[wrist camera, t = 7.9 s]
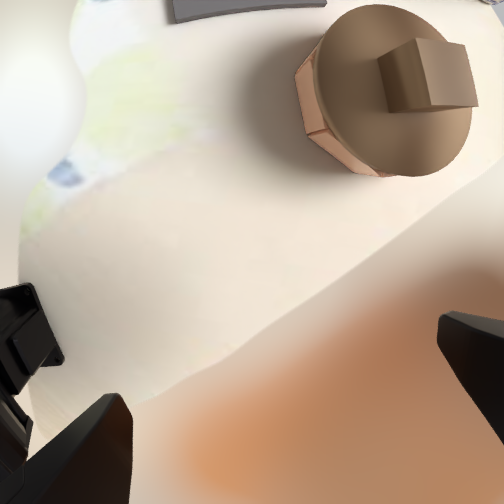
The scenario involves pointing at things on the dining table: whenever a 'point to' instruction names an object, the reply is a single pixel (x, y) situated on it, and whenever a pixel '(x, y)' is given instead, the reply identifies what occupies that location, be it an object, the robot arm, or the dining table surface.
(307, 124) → the bowl
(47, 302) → the dining table surface
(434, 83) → the lid
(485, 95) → the dining table surface
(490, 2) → the energy drink
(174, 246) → the dining table surface
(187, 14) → the mat
